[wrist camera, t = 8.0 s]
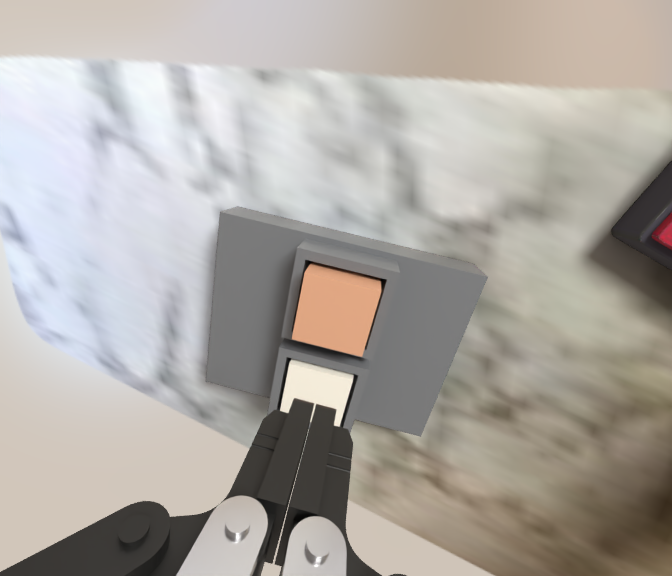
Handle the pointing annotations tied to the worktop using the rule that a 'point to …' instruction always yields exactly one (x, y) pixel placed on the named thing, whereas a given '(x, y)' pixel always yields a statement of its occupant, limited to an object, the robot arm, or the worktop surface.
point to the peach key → (336, 308)
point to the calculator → (650, 221)
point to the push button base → (369, 370)
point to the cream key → (317, 387)
